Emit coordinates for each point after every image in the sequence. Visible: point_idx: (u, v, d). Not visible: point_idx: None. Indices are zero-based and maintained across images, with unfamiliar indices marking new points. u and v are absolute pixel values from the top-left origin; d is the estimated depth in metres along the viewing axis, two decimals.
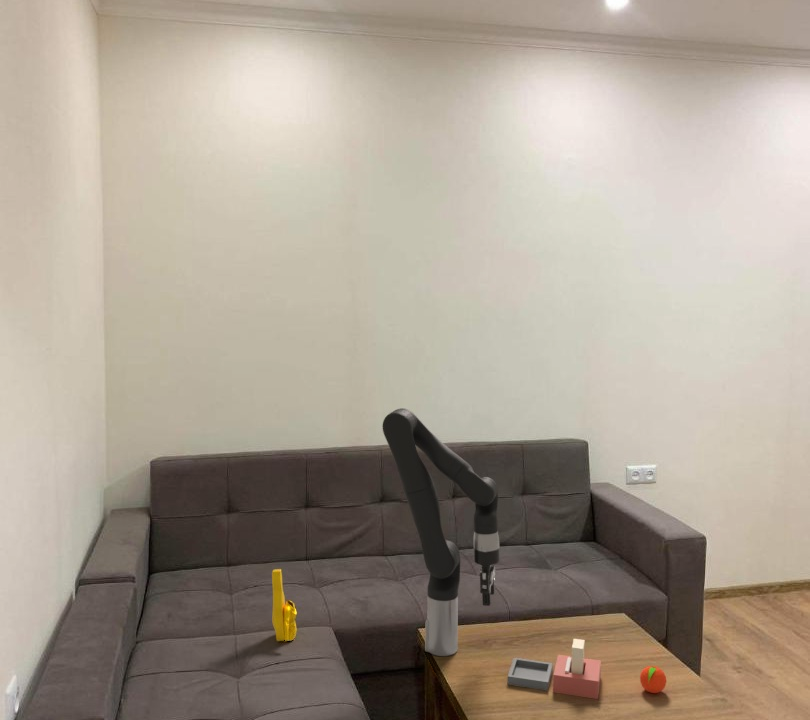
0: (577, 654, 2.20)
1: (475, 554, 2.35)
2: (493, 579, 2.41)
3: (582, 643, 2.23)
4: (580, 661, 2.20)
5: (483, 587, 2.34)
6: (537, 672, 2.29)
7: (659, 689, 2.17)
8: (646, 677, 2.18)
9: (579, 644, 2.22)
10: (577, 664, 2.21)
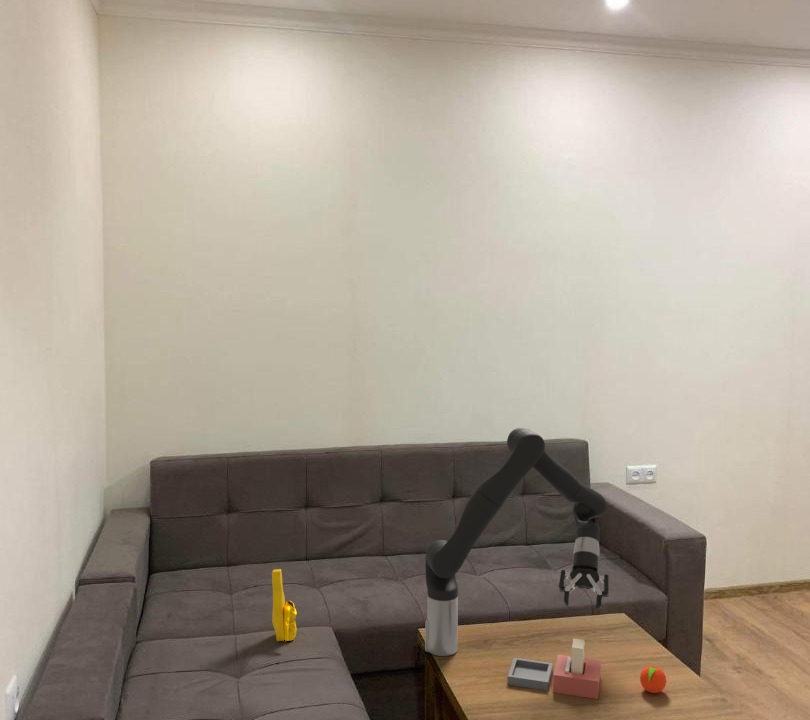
0: (577, 654, 2.20)
1: (592, 557, 2.38)
2: None
3: (582, 643, 2.23)
4: (580, 661, 2.20)
5: None
6: (537, 672, 2.29)
7: (659, 689, 2.17)
8: (646, 677, 2.18)
9: (579, 644, 2.22)
10: (577, 664, 2.21)
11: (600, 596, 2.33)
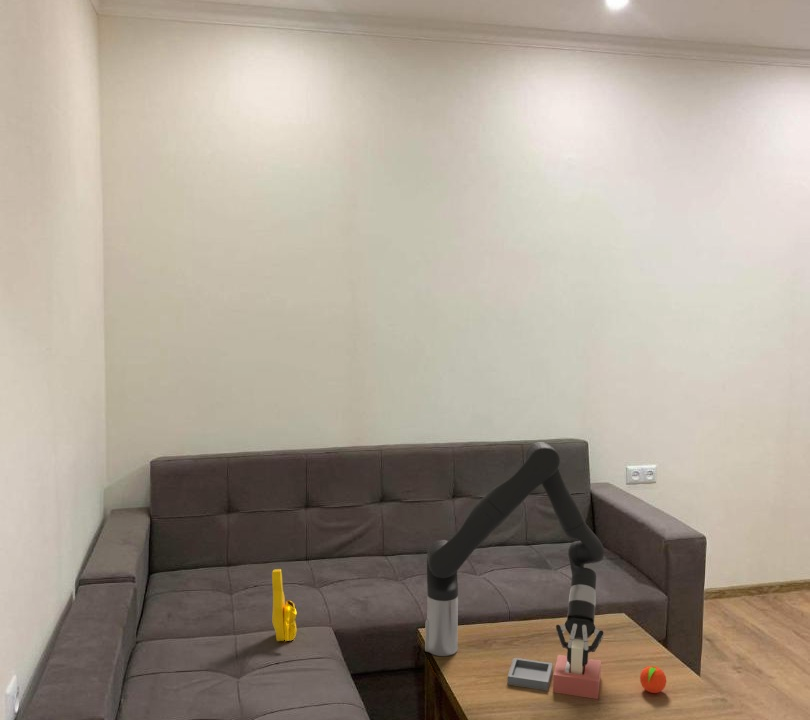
0: (576, 654, 2.20)
1: (588, 607, 2.27)
2: None
3: (581, 643, 2.22)
4: (579, 661, 2.20)
5: None
6: (537, 672, 2.29)
7: (659, 689, 2.17)
8: (646, 677, 2.18)
9: (578, 644, 2.22)
10: (576, 664, 2.21)
11: (586, 651, 2.22)
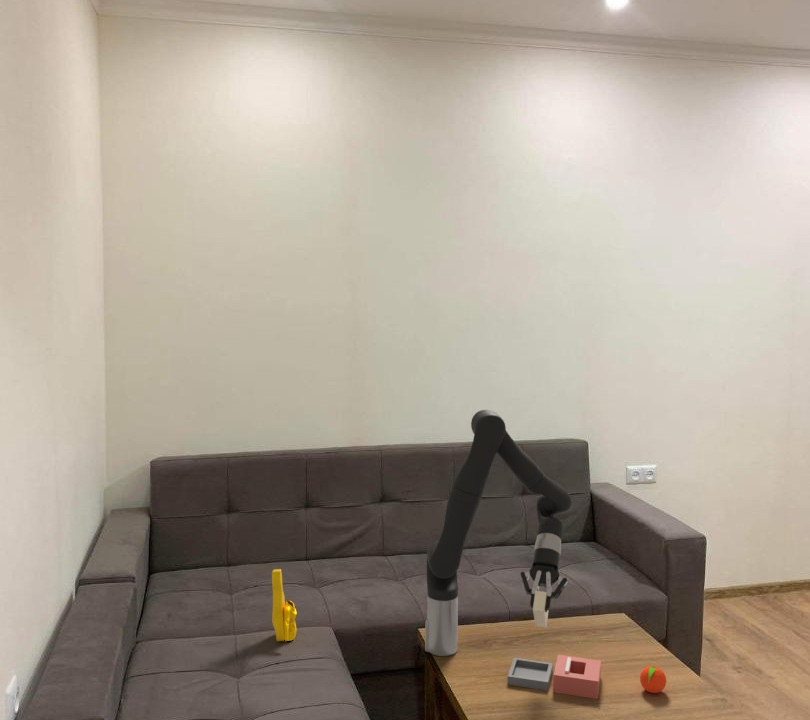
0: (538, 613, 2.21)
1: (553, 555, 2.28)
2: None
3: (543, 600, 2.21)
4: (541, 616, 2.22)
5: None
6: (537, 672, 2.29)
7: (659, 689, 2.17)
8: (646, 677, 2.18)
9: (540, 602, 2.21)
10: (539, 617, 2.23)
11: (549, 597, 2.23)
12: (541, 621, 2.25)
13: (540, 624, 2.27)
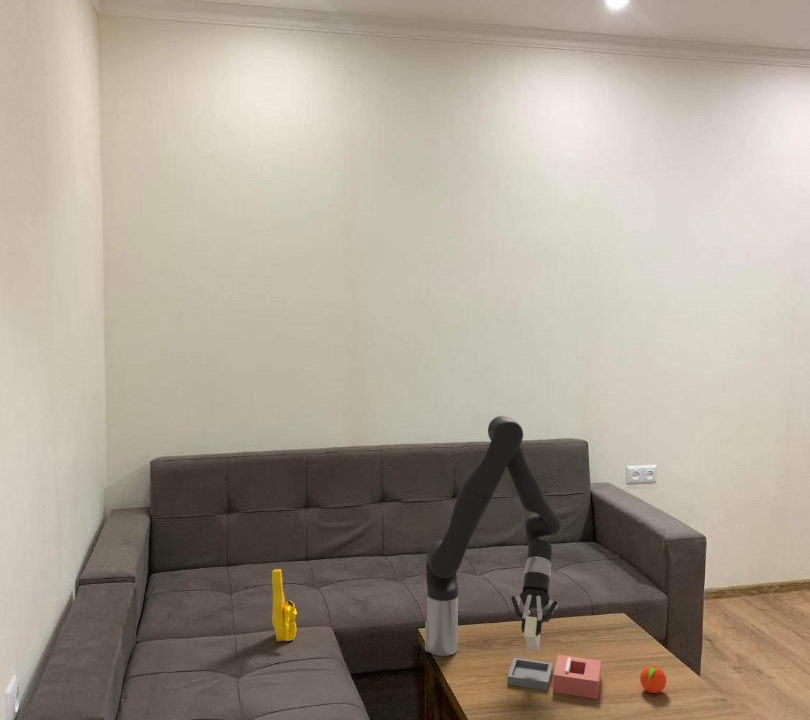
0: (530, 638, 2.23)
1: (543, 578, 2.30)
2: None
3: (534, 625, 2.23)
4: (533, 641, 2.24)
5: None
6: (537, 672, 2.29)
7: (659, 689, 2.17)
8: (646, 677, 2.18)
9: (531, 628, 2.23)
10: (531, 641, 2.25)
11: (540, 621, 2.25)
12: (533, 645, 2.27)
13: (532, 647, 2.29)
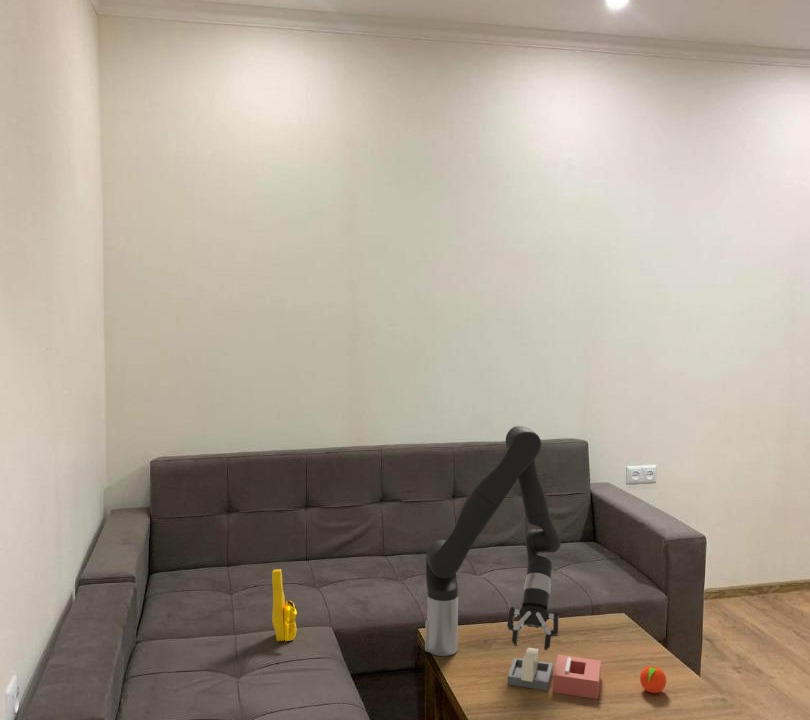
0: None
1: (542, 595, 2.31)
2: None
3: (531, 670, 2.20)
4: None
5: None
6: (537, 672, 2.29)
7: (659, 689, 2.17)
8: (646, 677, 2.18)
9: (528, 672, 2.20)
10: None
11: (549, 636, 2.25)
12: None
13: None
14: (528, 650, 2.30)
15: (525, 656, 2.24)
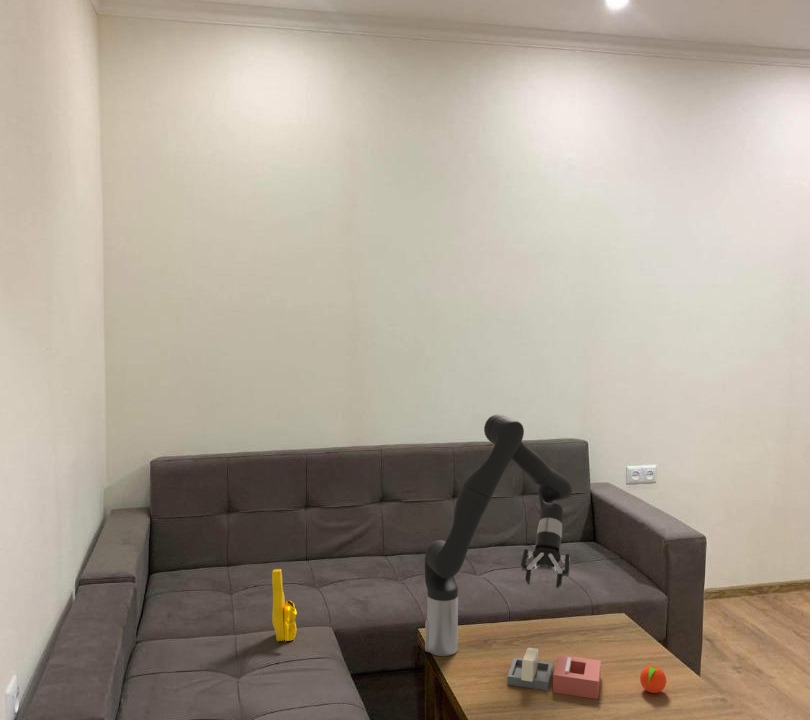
0: None
1: (554, 538, 2.45)
2: None
3: (531, 670, 2.20)
4: None
5: None
6: (537, 672, 2.29)
7: (659, 689, 2.17)
8: (646, 677, 2.18)
9: (528, 672, 2.20)
10: None
11: (561, 575, 2.39)
12: None
13: None
14: (528, 650, 2.30)
15: (525, 656, 2.24)
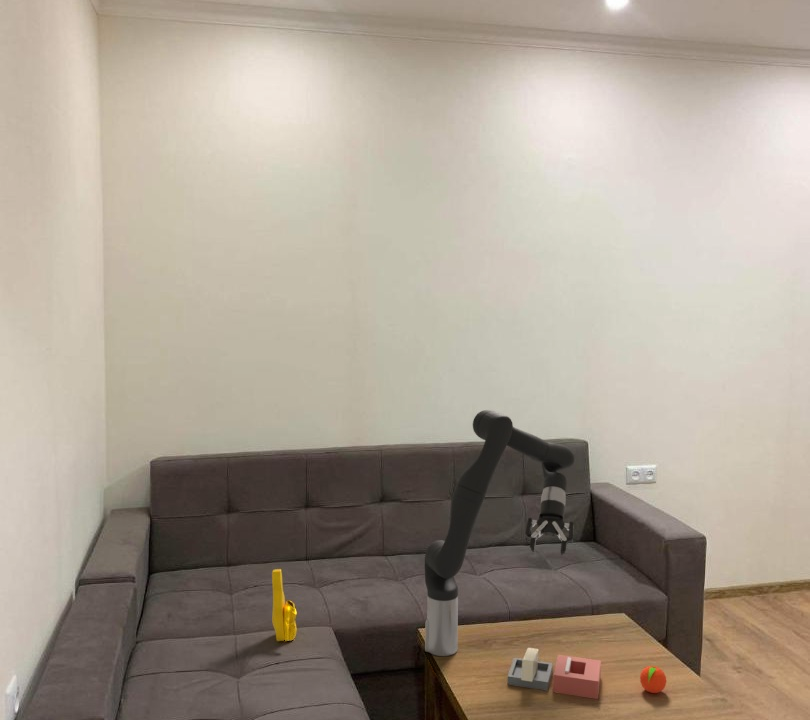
0: None
1: (558, 506, 2.46)
2: (537, 538, 2.45)
3: (531, 670, 2.20)
4: None
5: None
6: (537, 672, 2.29)
7: (659, 689, 2.17)
8: (646, 677, 2.18)
9: (528, 672, 2.20)
10: None
11: (565, 542, 2.41)
12: None
13: None
14: (528, 650, 2.30)
15: (525, 656, 2.24)
